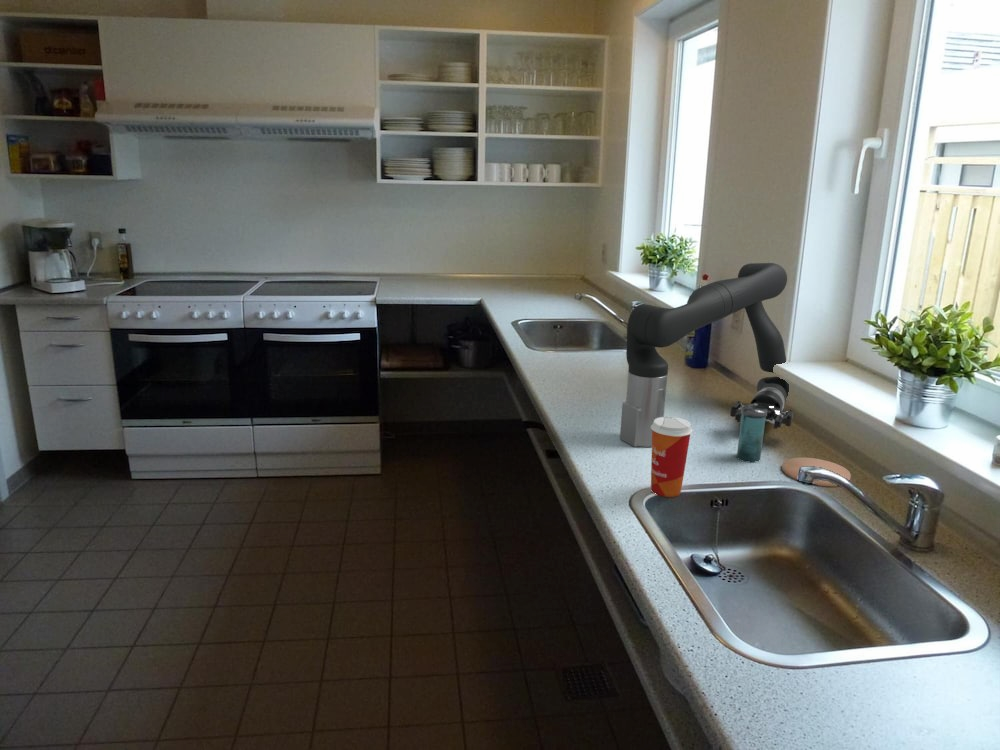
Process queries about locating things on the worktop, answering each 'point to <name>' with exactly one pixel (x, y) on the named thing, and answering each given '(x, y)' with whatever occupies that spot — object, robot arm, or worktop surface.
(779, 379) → the robot arm
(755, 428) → the canister
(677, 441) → the coffee cup
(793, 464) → the dish
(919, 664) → the worktop surface
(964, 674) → the worktop surface
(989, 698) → the worktop surface
